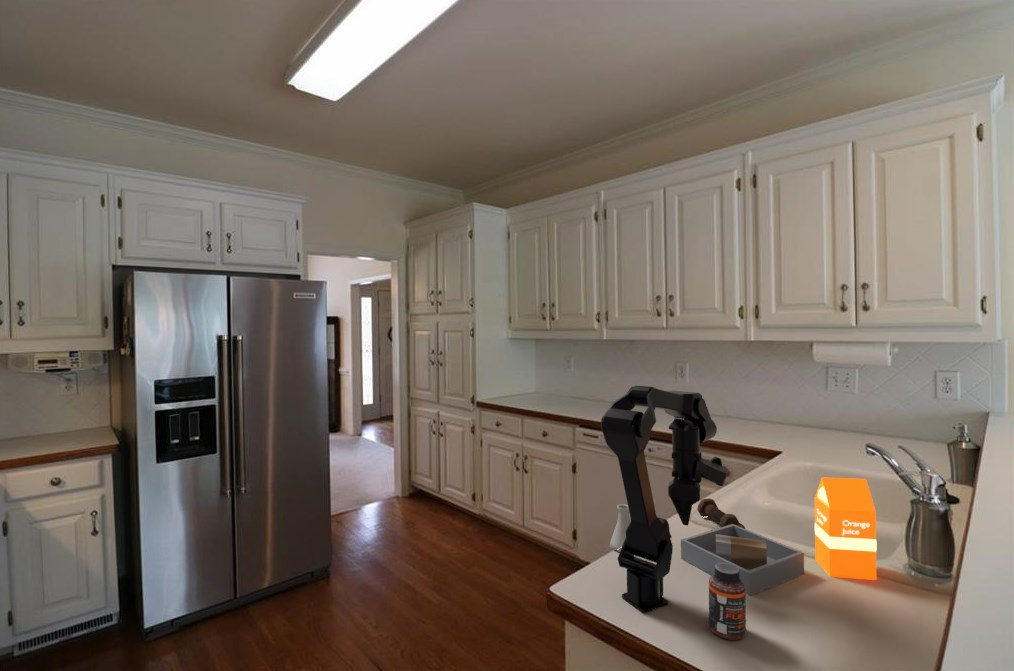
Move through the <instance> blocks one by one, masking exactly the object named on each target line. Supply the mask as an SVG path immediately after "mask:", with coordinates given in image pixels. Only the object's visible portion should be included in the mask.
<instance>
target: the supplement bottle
mask: <svg viewBox="0 0 1014 671" xmlns="http://www.w3.org/2000/svg"><path fill="white" fill-rule="evenodd" d="M714 572H715V574H714V575H710V577H709V580H708V626H709V629H710V631H712V633H714V634H715V635H716V636H718V637H719V638H722V639H725V640H729V641H739V640H741V639H743V638H745V636H746V630H747V627H746V626H747V625H746V624H747V615H746V614H747V612H746V608H747V605H746V604H747V602H746V601H747V599H746V598H747V597H746V595H747V594H746V589H745V584H744V583H743V581H742V580H741V579H739V578H740V575H739V569H738V568H737V567H736V566H734V565H732V564H728V563H718V564H716V565H715V571H714Z"/></svg>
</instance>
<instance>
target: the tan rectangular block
mask: <svg viewBox="0 0 1014 671" xmlns="http://www.w3.org/2000/svg"><path fill="white" fill-rule="evenodd" d="M716 555H717V556H719V557H722V558H724V559H726V560H728V561H730V562H732V563H734V564H736V565H738V566H740V567H742V568H747V569H754V568H757V567H760V566H762V565H765V564H767V548H766V544H765V541H763V540H755V539H748V538H740V537H733V536H725V535H718V534H716Z"/></svg>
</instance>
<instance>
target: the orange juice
mask: <svg viewBox="0 0 1014 671" xmlns="http://www.w3.org/2000/svg"><path fill="white" fill-rule="evenodd" d="M818 485H819V486H818V488H817V491H816V493H815V496H814V541H815V542H814V544H815V545H814V546H815V548H814V552H815V553H814V554H815V555H814V556H815V558H814V559H815V561H816V562H817V563H818V565H820V567H821V568H822V569H823V570H824V572H825V573H827V575H828V576H829V577H830V578H841V579H842V578H844V579H845V578H846V579H857V580H868V581H869V580H870V581H877V546H878V545H877V510H876V508H875V504H874V501H873V497H872V494H871V490H870V488H869V484H868V482H867V479H866V478H851V477H850V478H849V477H848V478H847V477H845V478H844V477H825V476H823V477H821V480H820V482H819V484H818Z"/></svg>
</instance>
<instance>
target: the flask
mask: <svg viewBox="0 0 1014 671" xmlns="http://www.w3.org/2000/svg"><path fill="white" fill-rule="evenodd" d="M616 510H618V511H617V512H618V516H617V522H616V525H615V528H614V531H613V534H612V536H611V540H610V542H609V546H608V547H609V549H611V550H614V551H616V552H618V553H620V551H621V549H622V548H620V547H621V546H623V543H624V541H625V538H626V530H627V528H628V526H629V524H630V522H631V518H630V513H629V508H628V504H625V503H624V504H622V503H621V504H617V506H616ZM618 548H620V549H619V550H617V549H618Z"/></svg>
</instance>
